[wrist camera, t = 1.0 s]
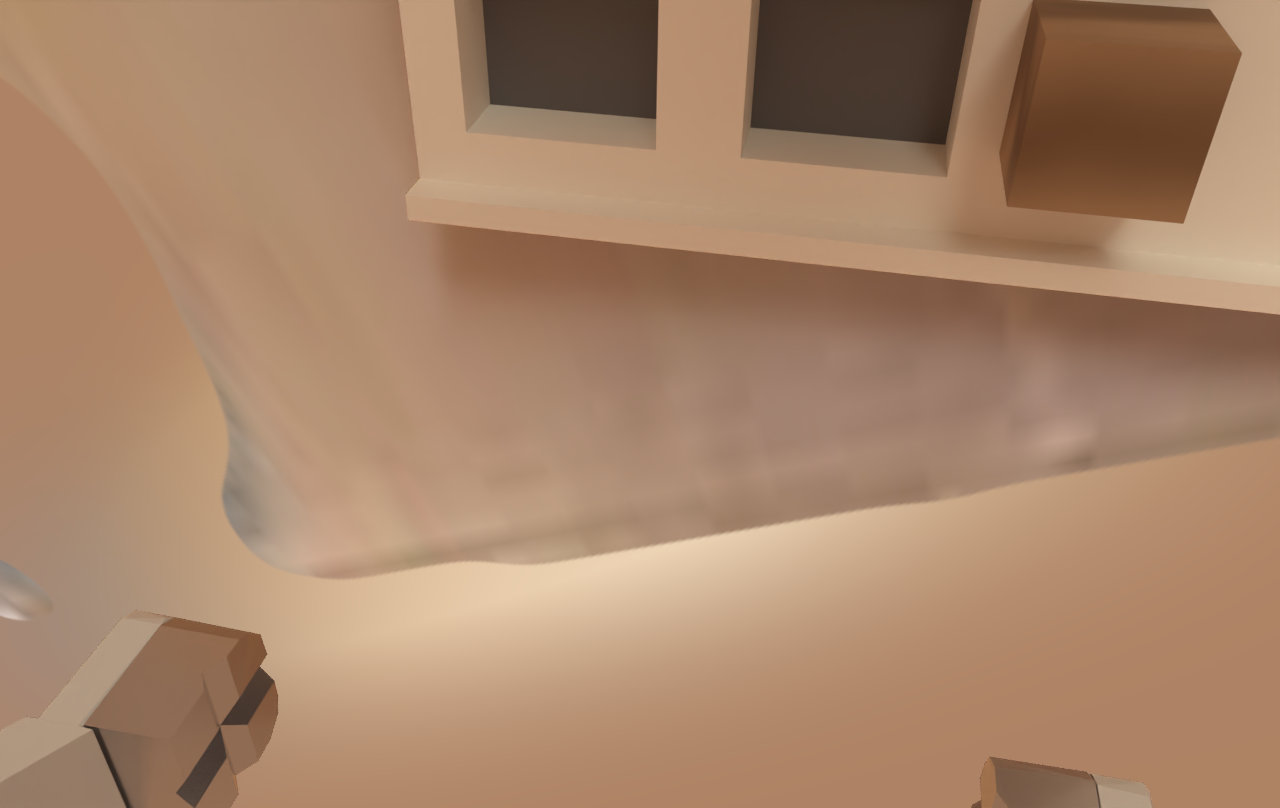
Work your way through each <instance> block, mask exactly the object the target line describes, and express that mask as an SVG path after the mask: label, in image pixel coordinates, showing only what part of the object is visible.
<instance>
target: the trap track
mask: <svg viewBox="0 0 1280 808" xmlns="http://www.w3.org/2000/svg"><path fill="white" fill-rule="evenodd" d="M398 1H399V10H400V18H401V26H402V35H403V43H404V51H405V59H406V68H407V76H408V84H409V93H410V101H411V109H412V117H413V126H414V134H415V142H416V151H417V159H418V167H419V176H420V179H419V180H418V181H417V182H416V183H415V184H414V186H413V187H412V188H411V189H410V190H409V191H408V192H407V194H406V195H405V201H406V208H407V216H408V220H410V221H420V222H429V223H438V224H447V225H457V226H466V227H475V228H484V229H494V230H503V231H512V232H521V233H531V234H540V235H549V236H558V237H568V238H577V239H586V240H595V241H605V242H614V243H623V244H632V245H641V246H651V247H660V248H669V249H678V250H688V251H697V252H706V253H715V254H725V255H734V256H743V257H752V258H762V259H771V260H780V261H789V262H799V263H808V264H817V265H826V266H836V267H845V268H854V269H863V270H872V271H882V272H891V273H900V274H909V275H919V276H928V277H937V278H946V279H956V280H965V281H974V282H983V283H993V284H1002V285H1011V286H1020V287H1030V288H1039V289H1048V290H1057V291H1067V292H1076V293H1085V294H1094V295H1103V296H1113V297H1122V298H1131V299H1140V300H1150V301H1159V302H1168V303H1177V304H1187V305H1196V306H1205V307H1214V308H1224V309H1233V310H1242V311H1251V312H1261V313H1270V314H1279V315H1280V0H1080V1H1095V2H1110V3H1125V4H1140V5H1155V6H1170V7H1185V8H1200V9H1210V10H1211V11H1212V13H1213V14H1214V15H1215V17H1216V18H1217V20H1218V21H1219V22H1220V24H1221V25H1222V26H1223V28H1224V29H1225V31H1226V32H1227V33H1228V35H1229V36H1230V37H1231V39H1232V40H1233V41H1234V43H1235V44H1236V46H1237V47H1238V48H1239V50H1240V51H1241V52H1242V55H1241V58H1240V61H1239V64H1238V67H1237V70H1236V72H1235V75H1234V78H1233V81H1232V84H1231V87H1230V90H1229V93H1228V96H1227V99H1226V102H1225V104H1224V107H1223V110H1222V113H1221V116H1220V119H1219V122H1218V125H1217V128H1216V131H1215V134H1214V136H1213V139H1212V142H1211V145H1210V148H1209V151H1208V154H1207V157H1206V160H1205V163H1204V166H1203V168H1202V171H1201V174H1200V177H1199V180H1198V183H1197V186H1196V189H1195V192H1194V195H1193V198H1192V200H1191V203H1190V206H1189V209H1188V212H1187V215H1186V218H1185V221H1184V224H1181V223H1170V222H1160V221H1150V220H1139V219H1129V218H1119V217H1109V216H1098V215H1088V214H1078V213H1067V212H1057V211H1047V210H1036V209H1026V208H1016V207H1007V204H1006V197H1005V190H1004V183H1003V177H1002V170H1001V163H1000V156H999V152H1000V147H1001V143H1002V138H1003V134H1004V129H1005V125H1006V120H1007V116H1008V111H1009V107H1010V102H1011V97H1012V93H1013V88H1014V84H1015V79H1016V75H1017V70H1018V66H1019V61H1020V57H1021V52H1022V48H1023V43H1024V39H1025V34H1026V30H1027V25H1028V21H1029V16H1030V12H1031V7H1032V3H1033V0H398Z"/></svg>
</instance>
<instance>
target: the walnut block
mask: <svg viewBox="0 0 1280 808" xmlns="http://www.w3.org/2000/svg"><path fill="white" fill-rule="evenodd" d="M1241 55H1242V52H1241V51H1240V50H1239V48H1238V47H1237V46H1236V44H1235V43H1234V41H1233V40H1232V39H1231V37H1230V36H1229V35H1228V33H1227V32H1226V31H1225V29H1224V28H1223V26H1222V25H1221V24H1220V22H1219V21H1218V20H1217V18H1216V17H1215V15H1214V14H1213V13H1212V11H1211V10H1210V9H1200V8H1185V7H1170V6H1155V5H1140V4H1125V3H1110V2H1095V1H1080V0H1033V3H1032V7H1031V12H1030V16H1029V21H1028V25H1027V30H1026V34H1025V39H1024V43H1023V48H1022V52H1021V57H1020V61H1019V66H1018V70H1017V75H1016V79H1015V84H1014V88H1013V93H1012V97H1011V102H1010V107H1009V111H1008V116H1007V120H1006V125H1005V129H1004V134H1003V138H1002V143H1001V147H1000V152H999V156H1000V163H1001V170H1002V177H1003V183H1004V190H1005V197H1006V204H1007V207H1016V208H1026V209H1036V210H1047V211H1057V212H1067V213H1078V214H1088V215H1098V216H1109V217H1119V218H1129V219H1139V220H1150V221H1160V222H1170V223H1181V224H1184V221H1185V218H1186V215H1187V212H1188V209H1189V206H1190V203H1191V200H1192V198H1193V195H1194V192H1195V189H1196V186H1197V183H1198V180H1199V177H1200V174H1201V171H1202V168H1203V166H1204V163H1205V160H1206V157H1207V154H1208V151H1209V148H1210V145H1211V142H1212V139H1213V136H1214V134H1215V131H1216V128H1217V125H1218V122H1219V119H1220V116H1221V113H1222V110H1223V107H1224V104H1225V102H1226V99H1227V96H1228V93H1229V90H1230V87H1231V84H1232V81H1233V78H1234V75H1235V72H1236V70H1237V67H1238V64H1239V61H1240V58H1241Z"/></svg>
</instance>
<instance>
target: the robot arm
mask: <svg viewBox="0 0 1280 808" xmlns="http://www.w3.org/2000/svg"><path fill="white" fill-rule="evenodd" d="M266 655H267V653H266V650H265V647H264V644H263V641H262V638H261V635H260V634H255V633H251V632H245V631H240V630H235V629H230V628H226V627H221V626H216V625H211V624H206V623H201V622H196V621H190V620H186V619H181V618H175V617H170V616H165V615H159V614H154V613H148V612H142V611H137V610H136V611H134V612H132V613H130V614H128V615H127V616H125V617H123V618H121V619H120V620H119V621H118V623H117V624H116V625H115V626H114V627H113V629H112V630H111V631H110V632H109V633H108V635H107V636H106V637H105V638H104V639H103V641H102V642H101V643H100V644H99V645H98V647H97V648H96V649H95V650H94V652H93V653H92V654H91V655H90V656H89V658H88V659H87V660H86V661H85V663H84V664H83V665H82V666H81V667H80V668H79V670H78V671H77V672H76V673H75V674H74V676H73V677H72V678H71V679H70V680H69V682H68V683H67V684H66V685H65V687H64V688H63V689H62V690H61V691H60V692H59V694H58V695H57V696H56V697H55V698H54V700H53V701H52V702H51V703H50V704H49V706H48V707H47V708H46V709H45V711H44V712H43V713H42V714H41V715H40V716H39V718H34V717H28V716H26V717H24V718H23V719H21V720H19V721H17V722H15V723H13V724H11V725H9V726H7V727H6V728H3V729H2V730H0V808H230V807H231V806H232V804H233V802H234V801H235V799H236V797H237V796H238V788H237V782H236V775H237V774H238V773H240V772H241V771H243V770H245V769H246V768H248V767H249V766H251V765H252V764H254V763H256V762H257V761H258V760H259V758H260V757H261V755H262V753H263V751H264V750H265V748H266V746H267V744H268V743H269V741H270V739H271V735H272V732H273V728H274V725H275V721H276V718H277V715H278V694H277V690H276V686H275V682H274V680H273V679H272V678H271V677H270V676H269V675H268V674H267V673H266V672H265V671H264V670H263V669H261V667H260V665H261V663H262V662H263V660H264V659H265V657H266ZM980 787H981V800H980V801H978V802H977V803H975V804H973V805H972V807H971V808H1153V805H1152V800H1151V796H1150V792H1149V791H1148V789H1147V788H1146V786H1145V785H1144V784H1143V783H1142V782H1137V781H1131V780H1125V779H1119V778H1113V777H1107V776H1101V775H1095V774H1088V773H1087V772H1084V771H1078V770H1071V769H1064V768H1059V767H1052V766H1046V765H1039V764H1033V763H1027V762H1020V761H1013V760H1007V759H1001V758H995V757H989V759H988V760H987V761H986V762H985V765H984V768H983V771H982V774H981V777H980Z"/></svg>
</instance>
